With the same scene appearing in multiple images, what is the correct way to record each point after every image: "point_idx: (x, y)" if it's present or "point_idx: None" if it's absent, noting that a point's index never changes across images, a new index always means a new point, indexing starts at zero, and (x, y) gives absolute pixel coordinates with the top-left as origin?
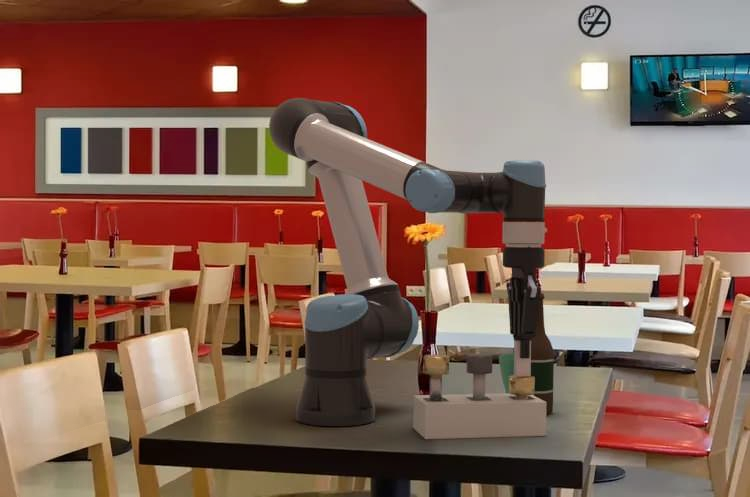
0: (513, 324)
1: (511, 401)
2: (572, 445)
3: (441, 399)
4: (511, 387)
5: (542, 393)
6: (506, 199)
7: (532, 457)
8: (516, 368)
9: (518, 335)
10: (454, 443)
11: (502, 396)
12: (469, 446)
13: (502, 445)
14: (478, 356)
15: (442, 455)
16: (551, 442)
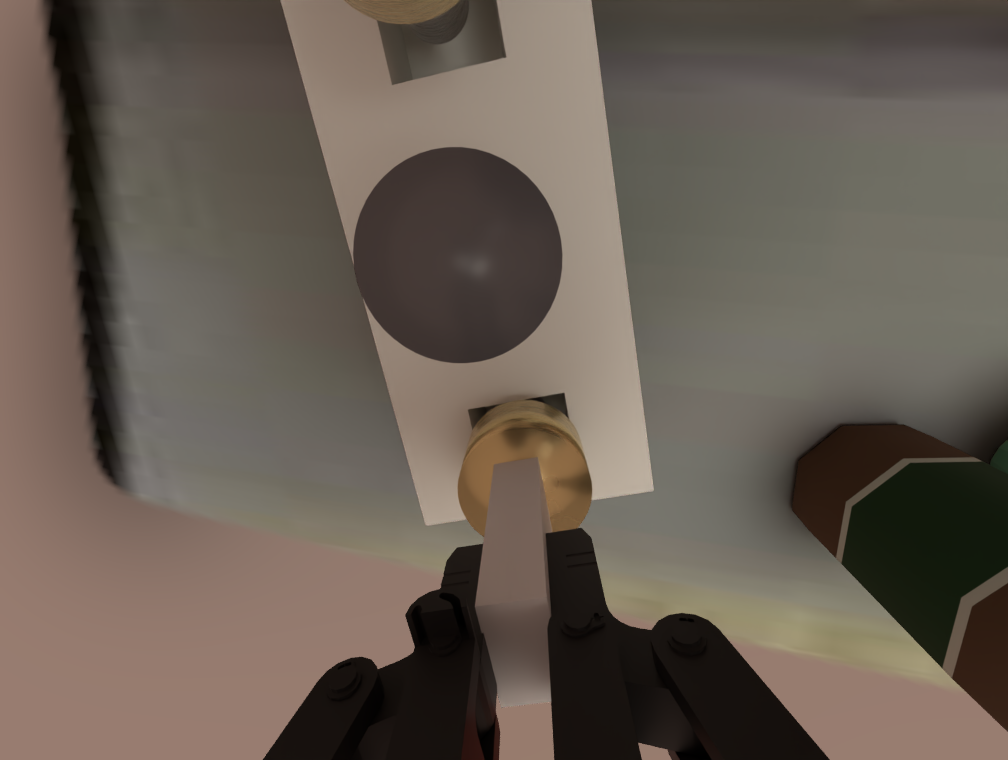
0: (621, 724)
1: (424, 392)
2: (317, 515)
3: (419, 37)
4: (494, 418)
5: (836, 551)
6: None
7: (127, 382)
8: (491, 486)
9: (437, 655)
10: (278, 139)
11: (555, 368)
12: (239, 194)
13: (278, 311)
14: (406, 248)
15: (71, 83)
16: (350, 465)
